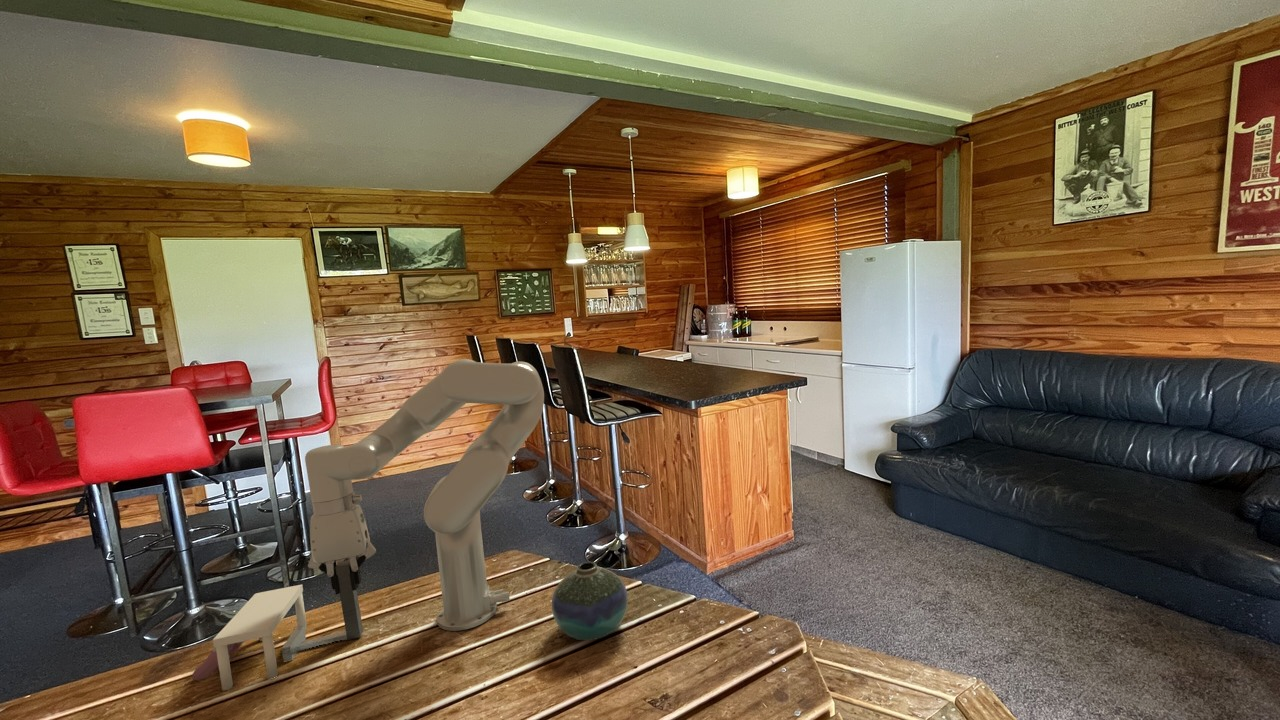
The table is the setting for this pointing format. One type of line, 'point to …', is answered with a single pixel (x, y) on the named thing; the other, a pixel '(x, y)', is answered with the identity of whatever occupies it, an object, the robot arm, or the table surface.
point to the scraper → (349, 613)
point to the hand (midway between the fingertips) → (347, 588)
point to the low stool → (258, 627)
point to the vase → (589, 602)
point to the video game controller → (214, 662)
